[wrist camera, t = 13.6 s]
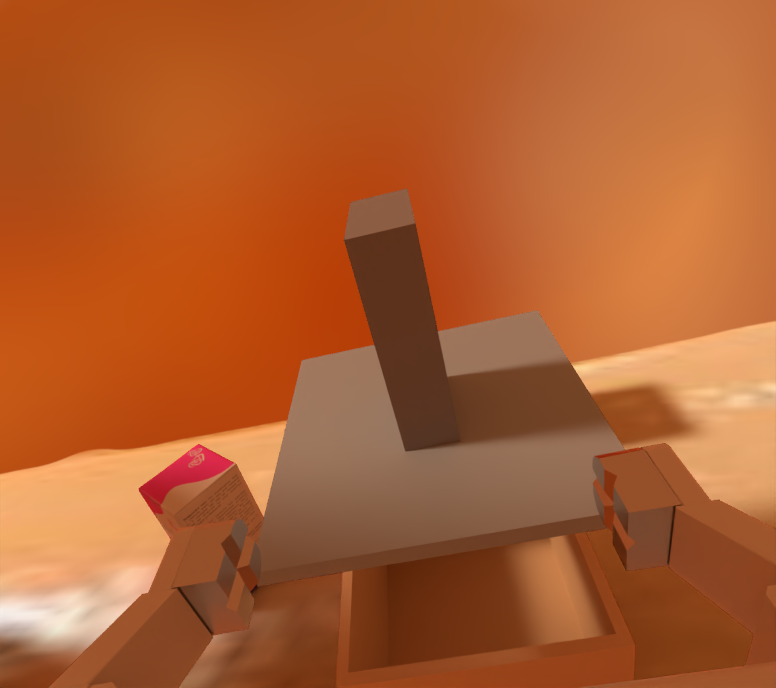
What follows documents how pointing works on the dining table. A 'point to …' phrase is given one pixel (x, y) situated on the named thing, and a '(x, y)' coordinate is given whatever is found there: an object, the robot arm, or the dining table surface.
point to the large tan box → (485, 621)
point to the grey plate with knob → (427, 428)
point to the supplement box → (202, 494)
